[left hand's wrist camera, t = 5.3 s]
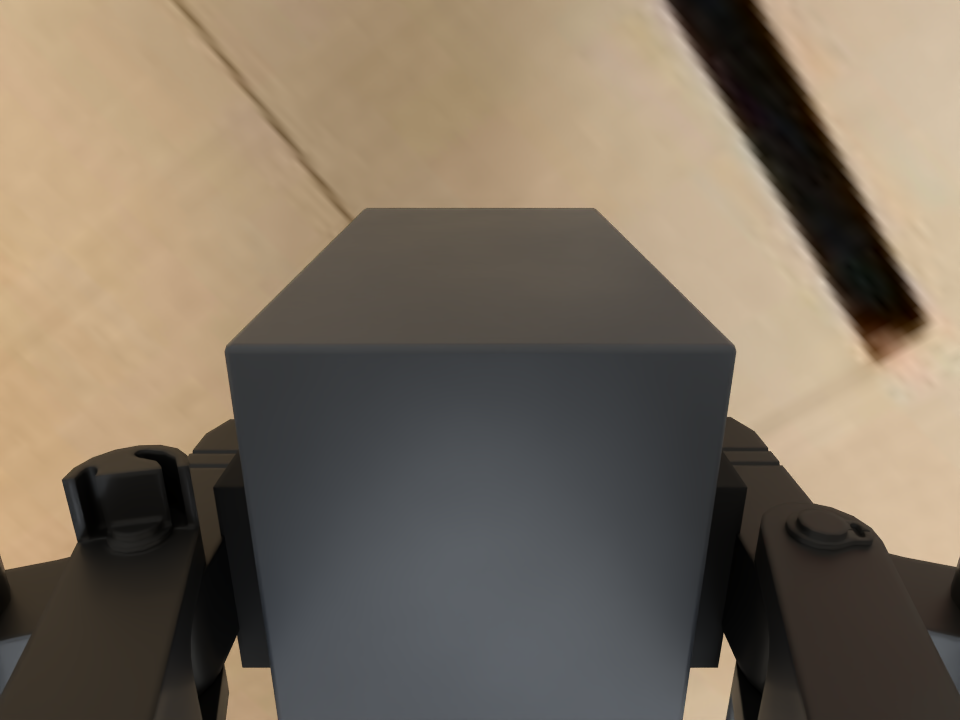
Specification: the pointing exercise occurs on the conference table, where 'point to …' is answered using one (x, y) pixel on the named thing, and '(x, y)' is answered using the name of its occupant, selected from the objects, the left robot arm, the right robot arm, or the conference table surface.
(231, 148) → the conference table surface
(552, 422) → the bar
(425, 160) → the conference table surface
